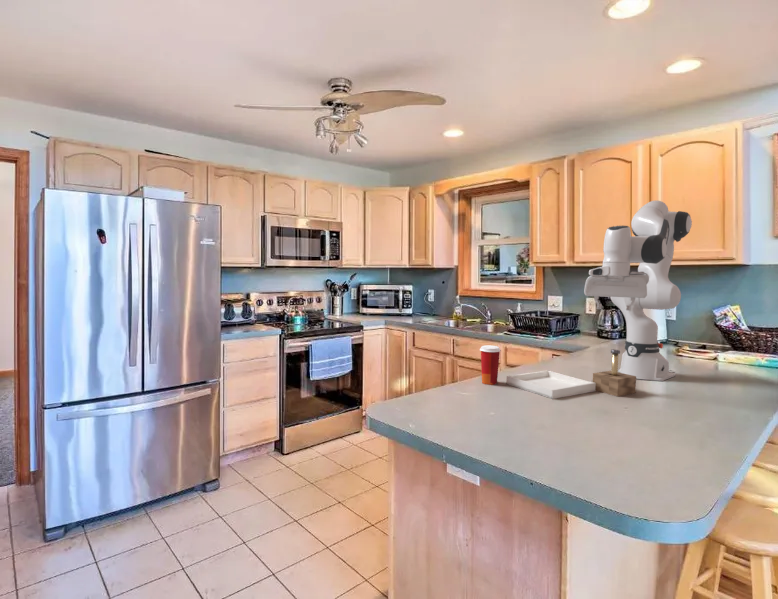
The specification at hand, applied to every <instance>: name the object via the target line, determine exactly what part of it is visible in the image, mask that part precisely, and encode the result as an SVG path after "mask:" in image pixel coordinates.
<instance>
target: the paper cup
mask: <svg viewBox="0 0 778 599" xmlns="http://www.w3.org/2000/svg"><path fill="white" fill-rule="evenodd" d="M479 351H480V364H481V365H480V366H481V368H480V369H481V371H480V372H481V382H482V384H484V385H489V386H490V385H491V386H493V385H497V384H498V383H497V382H498V376H499V364H500V363H499V362H500V355H501V354H500V353H501V349H500V347H499V346H497V345H492V344H491V345H490V344H489V345H481V347H480V348H479Z"/></svg>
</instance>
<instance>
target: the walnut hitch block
mask: <svg viewBox="0 0 778 599" xmlns="http://www.w3.org/2000/svg"><path fill="white" fill-rule="evenodd" d="M592 382H594V383H596V386H595V392H596V391H597V392H600V393H604V394H607V395H612V396H614V397H621V396H626V395H632V394H635V393H636V390H637V388H636V387H637V386H636V384H637V379H636V376H632V375H628V374H624V373H620V372H618V374H617V376H612V375H611V370H605V371H599V372H594V373H592Z"/></svg>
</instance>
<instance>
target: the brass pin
mask: <svg viewBox="0 0 778 599" xmlns="http://www.w3.org/2000/svg"><path fill="white" fill-rule="evenodd" d="M610 354H611V370H610V371H611V375H612V376H617V374H618V369H619V354H621V350H620V349H615V348H613V349H610Z"/></svg>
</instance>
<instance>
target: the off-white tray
mask: <svg viewBox="0 0 778 599" xmlns="http://www.w3.org/2000/svg"><path fill="white" fill-rule="evenodd" d="M505 381H506V385H509V386H512V387H515V388H518V389H521V390H524V391H527V392H531V393H534V394H535V395H539V396H542V397H545V398H548V399H551V400H555V399H559V398H566V397H570V396H576V395H582V394H586V393H587V394H588V393H592V392H596V390H595V386H596V383H594V382H593V381H590V380H586V379H582V378H578V377H576V376H575V377H574V376H571V375H567V374H563V373H559V372H555V371H552V370H540V371H535V372H526V373H525V372H524V373H519V374H512V375H506V380H505Z"/></svg>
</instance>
